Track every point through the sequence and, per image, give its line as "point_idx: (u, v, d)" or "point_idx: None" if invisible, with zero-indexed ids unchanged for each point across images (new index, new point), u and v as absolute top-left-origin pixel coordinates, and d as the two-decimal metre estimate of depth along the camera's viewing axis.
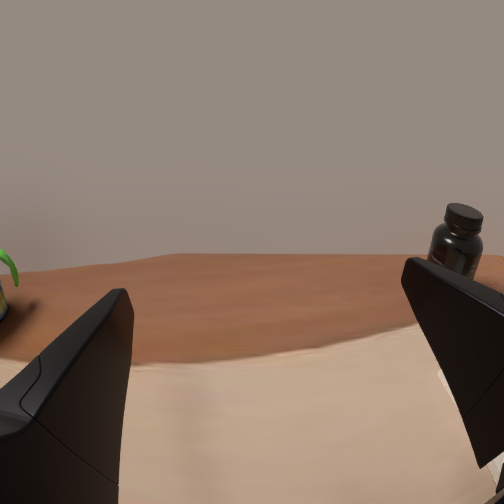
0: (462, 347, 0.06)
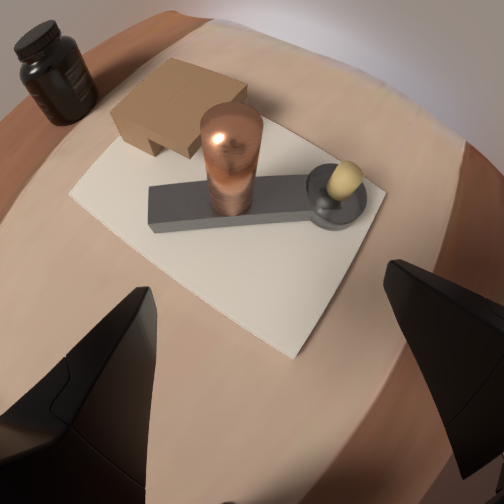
0: (444, 354, 0.06)
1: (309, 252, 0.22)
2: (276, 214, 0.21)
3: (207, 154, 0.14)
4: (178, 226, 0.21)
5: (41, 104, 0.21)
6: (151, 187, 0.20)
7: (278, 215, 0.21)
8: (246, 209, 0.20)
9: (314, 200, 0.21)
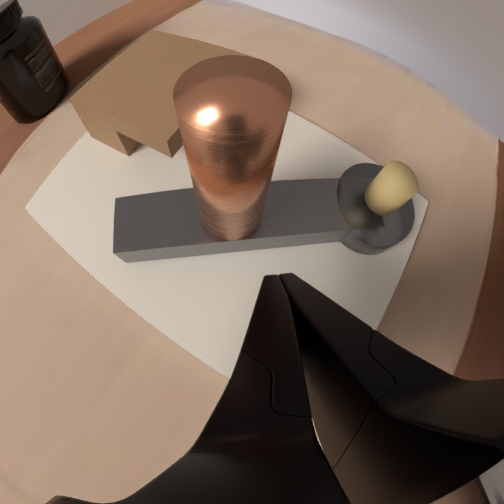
0: (318, 391, 0.06)
1: (339, 286, 0.16)
2: (297, 236, 0.14)
3: (188, 146, 0.07)
4: (157, 254, 0.14)
5: (0, 98, 0.15)
6: (118, 199, 0.14)
7: (300, 237, 0.15)
8: (254, 230, 0.14)
9: (349, 214, 0.15)
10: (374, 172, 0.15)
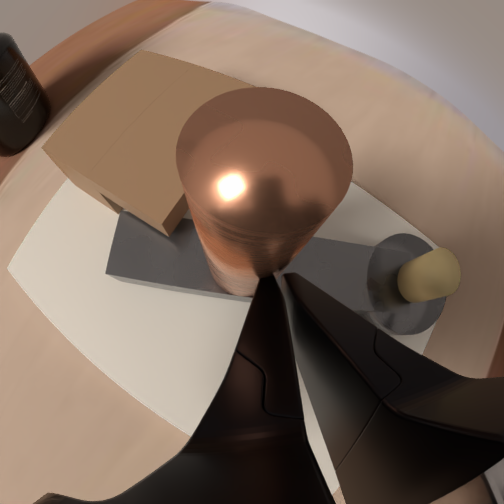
0: (323, 390, 0.06)
1: None
2: None
3: None
4: (153, 285, 0.13)
5: None
6: (124, 213, 0.13)
7: None
8: None
9: (375, 293, 0.12)
10: (415, 247, 0.13)
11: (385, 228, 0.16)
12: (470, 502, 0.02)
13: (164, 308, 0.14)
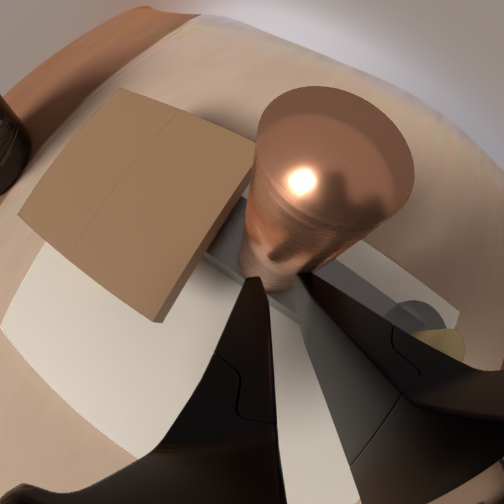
0: (339, 387, 0.06)
1: None
2: None
3: (251, 174, 0.06)
4: None
5: None
6: None
7: None
8: (280, 291, 0.12)
9: None
10: (432, 322, 0.12)
11: (389, 286, 0.15)
12: (489, 488, 0.02)
13: (162, 379, 0.13)
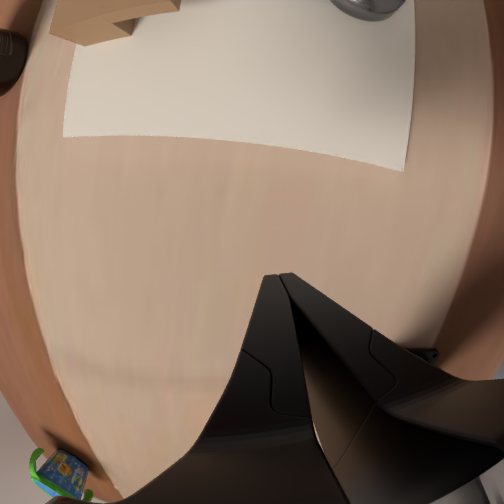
0: (318, 391, 0.06)
1: (368, 50, 0.14)
2: None
3: None
4: None
5: None
6: None
7: None
8: None
9: None
10: None
11: None
12: None
13: (200, 63, 0.15)
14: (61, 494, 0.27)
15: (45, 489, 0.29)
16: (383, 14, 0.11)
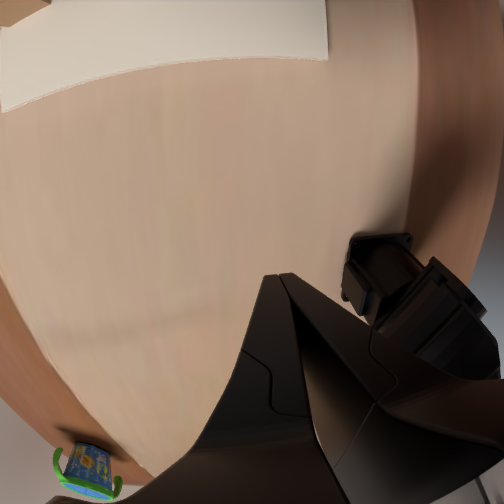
0: (318, 391, 0.06)
1: None
2: None
3: None
4: None
5: None
6: None
7: None
8: None
9: None
10: None
11: None
12: None
13: (117, 8, 0.12)
14: (92, 488, 0.30)
15: (77, 490, 0.33)
16: None
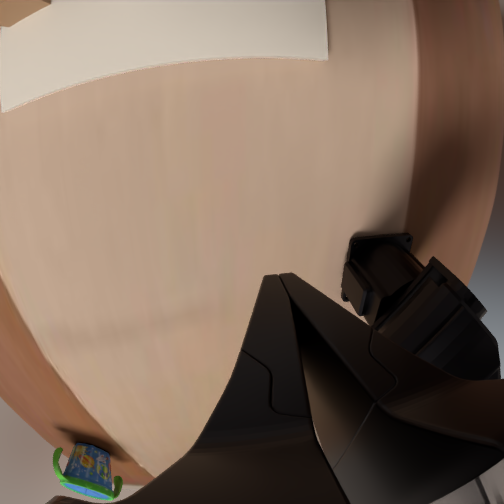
0: (318, 391, 0.06)
1: None
2: None
3: None
4: None
5: None
6: None
7: None
8: None
9: None
10: None
11: None
12: None
13: (117, 8, 0.12)
14: (92, 488, 0.30)
15: (77, 490, 0.33)
16: None
